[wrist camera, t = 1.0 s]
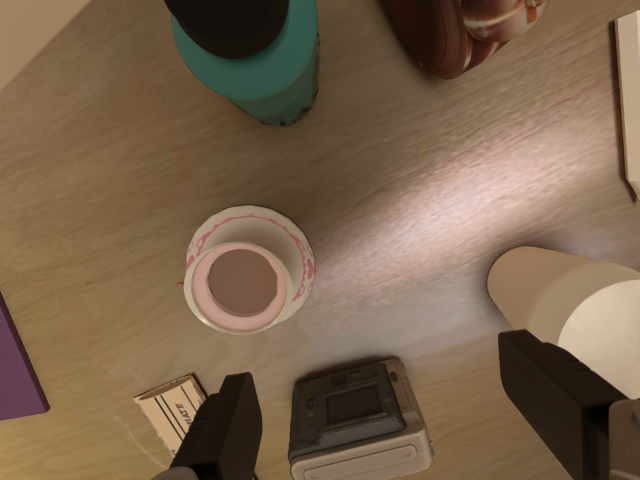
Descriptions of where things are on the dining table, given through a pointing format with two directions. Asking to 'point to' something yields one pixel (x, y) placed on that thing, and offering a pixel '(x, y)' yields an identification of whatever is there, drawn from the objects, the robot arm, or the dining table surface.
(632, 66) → the marker
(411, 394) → the camera
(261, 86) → the beverage bottle
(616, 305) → the cup
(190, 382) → the newspaper
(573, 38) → the dining table surface
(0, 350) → the purple square board
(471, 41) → the alarm clock
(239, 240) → the teacup
